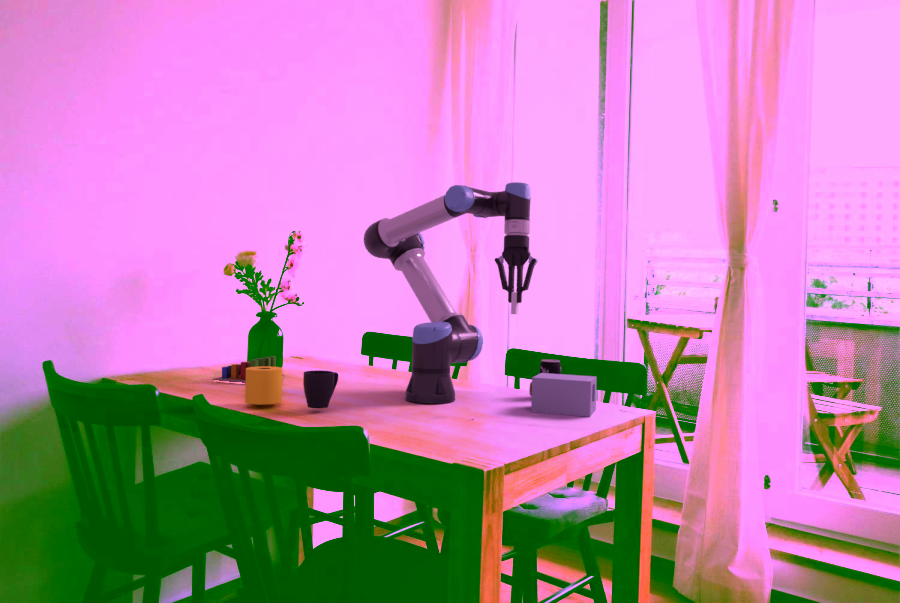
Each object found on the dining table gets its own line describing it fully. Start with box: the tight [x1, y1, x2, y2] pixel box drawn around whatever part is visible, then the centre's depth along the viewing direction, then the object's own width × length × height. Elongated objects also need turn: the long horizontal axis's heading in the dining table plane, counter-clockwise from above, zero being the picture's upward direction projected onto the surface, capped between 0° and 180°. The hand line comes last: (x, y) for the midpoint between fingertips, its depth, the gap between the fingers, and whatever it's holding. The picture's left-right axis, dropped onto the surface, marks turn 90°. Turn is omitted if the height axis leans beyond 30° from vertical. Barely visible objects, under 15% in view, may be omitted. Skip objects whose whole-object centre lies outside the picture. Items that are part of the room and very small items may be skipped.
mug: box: [303, 370, 339, 409], centre depth 186 cm, size 8×12×10 cm
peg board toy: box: [212, 355, 285, 383], centre depth 233 cm, size 18×17×9 cm
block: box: [530, 372, 598, 418], centre depth 189 cm, size 16×12×10 cm
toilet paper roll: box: [244, 366, 283, 406], centre depth 191 cm, size 10×10×9 cm
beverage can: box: [539, 359, 562, 374], centre depth 210 cm, size 7×7×12 cm
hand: (514, 313), depth 201 cm, fingers closed
